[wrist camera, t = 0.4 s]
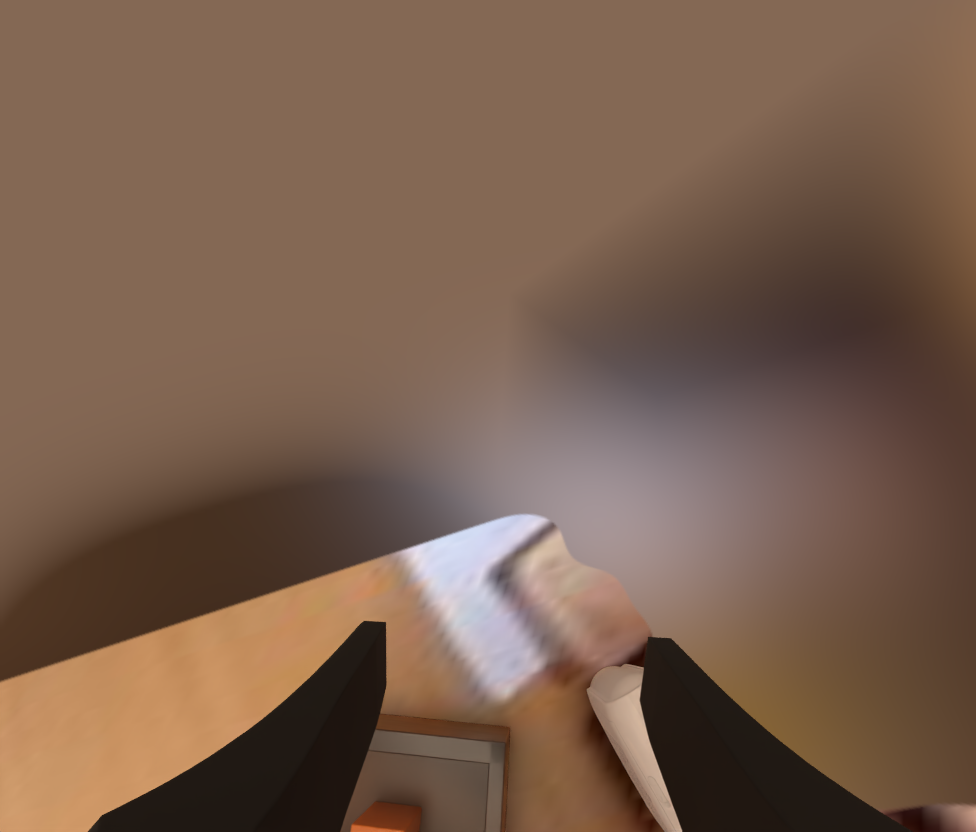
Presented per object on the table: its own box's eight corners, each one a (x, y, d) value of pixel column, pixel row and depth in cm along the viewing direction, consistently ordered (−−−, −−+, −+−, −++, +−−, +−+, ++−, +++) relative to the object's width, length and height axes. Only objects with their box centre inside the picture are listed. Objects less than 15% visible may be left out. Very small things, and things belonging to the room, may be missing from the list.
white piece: (715, 802, 32) (811, 882, 21) (663, 840, 32) (735, 943, 20) (623, 653, 37) (664, 656, 25) (576, 684, 36) (596, 700, 25)
